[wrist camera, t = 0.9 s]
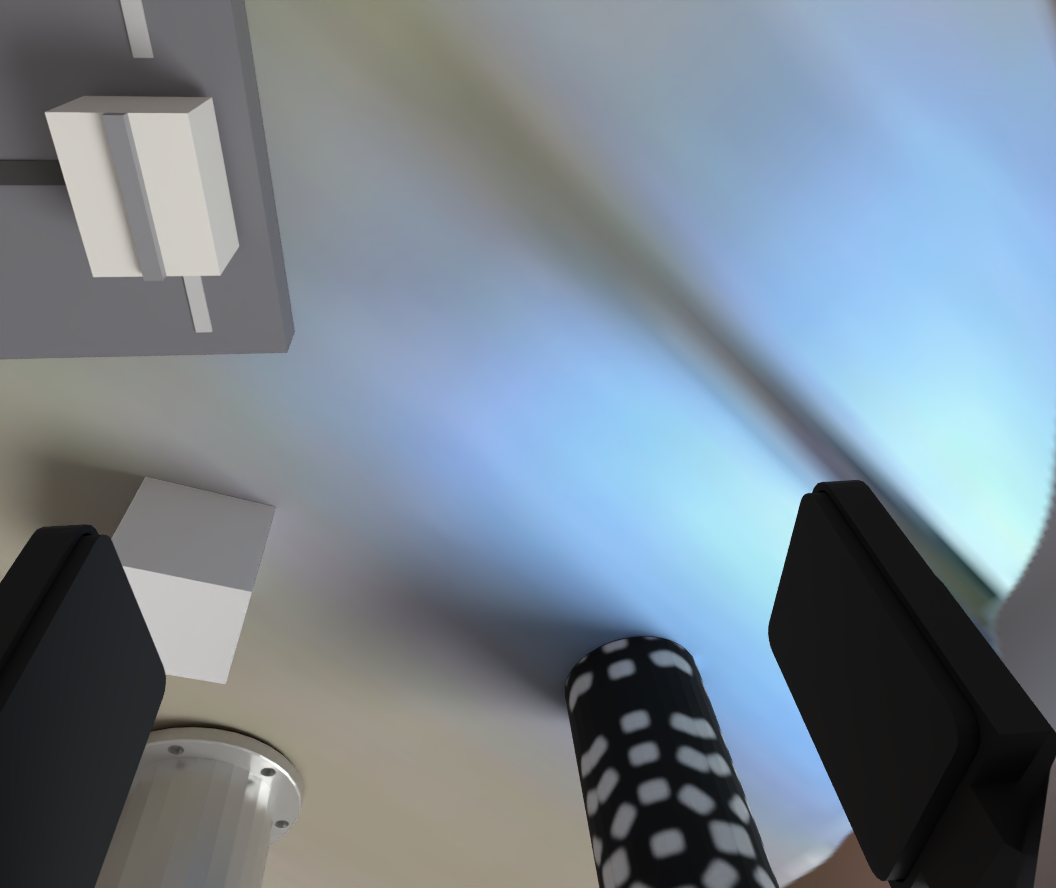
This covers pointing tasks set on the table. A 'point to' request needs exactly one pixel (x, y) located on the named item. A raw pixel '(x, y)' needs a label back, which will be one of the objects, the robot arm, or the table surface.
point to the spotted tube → (659, 773)
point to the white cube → (192, 571)
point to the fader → (146, 184)
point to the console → (45, 207)
